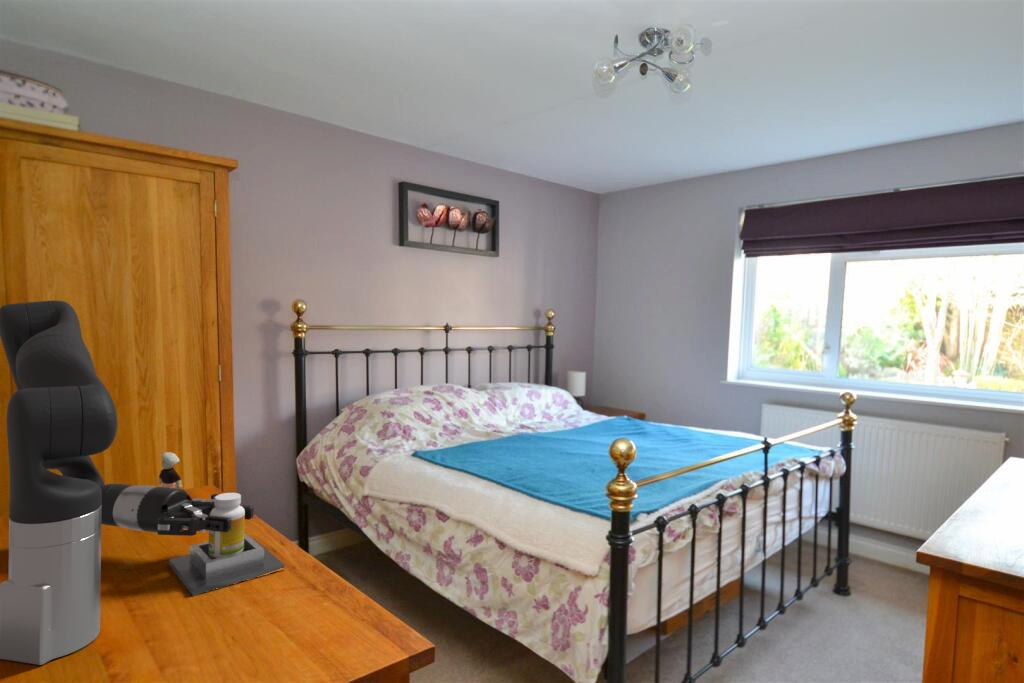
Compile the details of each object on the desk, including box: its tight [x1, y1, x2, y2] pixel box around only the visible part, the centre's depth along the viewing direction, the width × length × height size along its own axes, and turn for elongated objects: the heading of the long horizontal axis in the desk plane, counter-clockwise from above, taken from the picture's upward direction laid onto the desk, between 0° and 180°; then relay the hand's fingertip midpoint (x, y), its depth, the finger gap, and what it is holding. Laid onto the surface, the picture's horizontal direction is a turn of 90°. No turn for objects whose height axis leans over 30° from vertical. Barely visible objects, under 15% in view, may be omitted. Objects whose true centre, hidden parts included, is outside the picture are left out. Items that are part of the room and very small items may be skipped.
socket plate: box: [168, 532, 285, 597], centre depth 95 cm, size 14×14×4 cm
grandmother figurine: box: [157, 451, 183, 489], centre depth 120 cm, size 8×4×13 cm, turn 73°
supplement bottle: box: [208, 492, 246, 558], centre depth 95 cm, size 5×5×10 cm
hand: (241, 518), depth 94 cm, fingers closed on supplement bottle, 5 cm apart
